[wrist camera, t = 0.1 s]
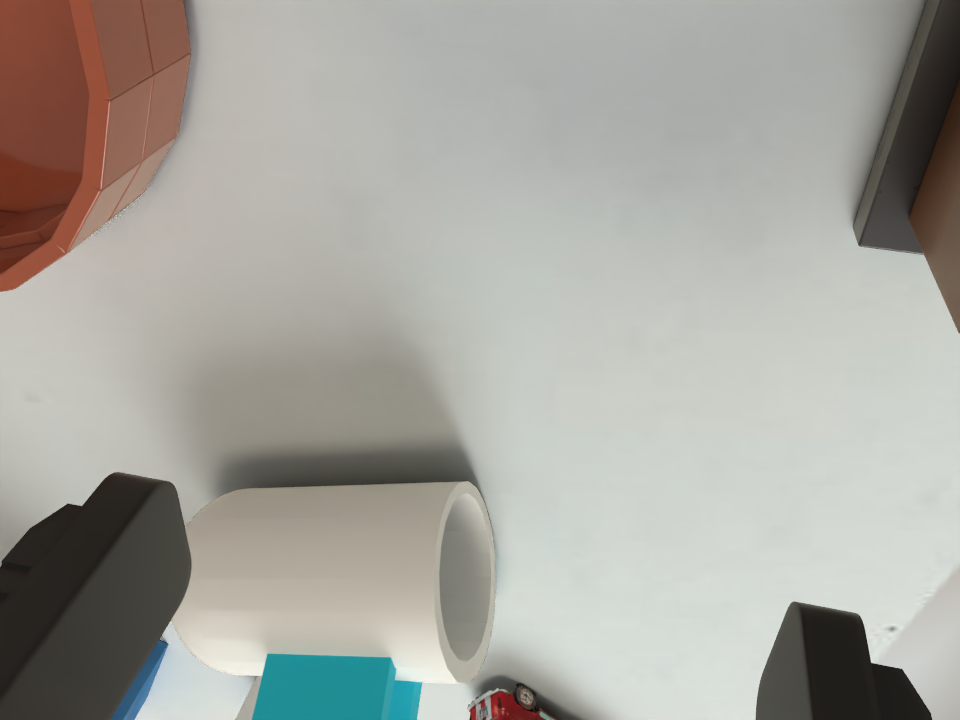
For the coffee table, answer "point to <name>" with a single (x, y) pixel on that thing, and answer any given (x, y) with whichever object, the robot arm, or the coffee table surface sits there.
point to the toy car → (507, 706)
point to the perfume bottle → (140, 685)
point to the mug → (341, 595)
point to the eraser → (922, 158)
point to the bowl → (81, 118)
